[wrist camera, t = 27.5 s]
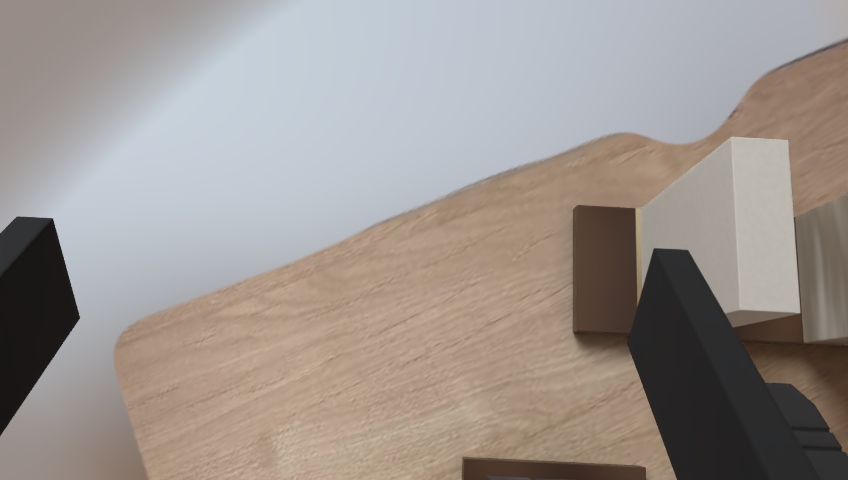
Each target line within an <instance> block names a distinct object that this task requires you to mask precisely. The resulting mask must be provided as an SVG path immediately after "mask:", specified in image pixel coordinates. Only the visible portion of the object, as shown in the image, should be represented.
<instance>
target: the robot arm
mask: <svg viewBox="0 0 848 480" xmlns="http://www.w3.org/2000/svg"><path fill="white" fill-rule="evenodd" d="M79 319H80V316H79V312H78V309H77V305H76V302H75V298H74V294H73V290H72V287H71V283H70V280H69V276H68V272H67V269H66V265H65V261H64V257H63V254H62V250H61V246H60V243H59V239H58V236H57V232H56V228H55V225H54V221H53V219H52V218H36V217H16V218H15V219H14V220H13V221H12V222H11V223H10V224H9V225H8V226H7V227H6V228H5V229H4V230H3V231H2V232H1V233H0V435H1V434H2V432H3V431H4V429H5V428H6V427H7V425H8V424H9V422H10V421H11V419H12V418H13V416H14V415H15V413H16V412H17V410H18V409H19V407H20V406H21V404H22V403H23V402H24V400H25V399H26V397H27V396H28V394H29V393H30V391H31V390H32V388H33V387H34V385H35V384H36V382H37V381H38V379H39V378H40V376H41V375H42V373H43V372H44V370H45V369H46V368H47V366H48V364H49V363H50V361H51V360H52V358H53V357H54V356H55V354H56V353H57V351H58V350H59V348H60V347H61V345H62V344H63V342H64V341H65V339H66V338H67V336H68V335H69V333H70V332H71V331H72V329H73V328H74V326H75V325H76V323H77V322H78V320H79ZM627 344H628V347H629V349H630V352H631V355H632V358H633V360H634V363H635V366H636V368H637V371H638V374H639V377H640V379H641V382H642V385H643V388H644V390H645V393H646V396H647V399H648V401H649V404H650V407H651V409H652V412H653V415H654V418H655V420H656V423H657V426H658V429H659V431H660V434H661V437H662V440H663V442H664V445H665V448H666V450H667V453H668V456H669V459H670V461H671V464H672V467H673V470H674V472H675V475H676V478H677V480H848V456H847V455H846V453H845V452H842V450H841V448H842V447H841V445H840V444H839V442H838V441H837V439H836V438H835V436H834V434H833V433H830V432H829V429H830V428H829V427H828V425H827V423H826V422H825V420H824V419H823V417H822V416H821V414H820V412H819V411H818V409H817V408H816V406H815V405H814V404H813V403H812V402H811V401H810V400H808V399H807V398H806V397H805V396H804V395H803V394H802V393H800V392H799V391H798V390H797V389H796V388H795V387H794V386H792V385H791V384H781V383H765V382H764V380H763V379H762V377H761V375H760V373H759V372H758V370H757V368H756V366H755V365H754V363H753V361H752V360H751V358H750V356H749V354H748V353H747V351H746V349H745V347H744V346H743V344H742V342H741V341H740V339H739V337H738V335H737V334H736V332H735V330H734V328H733V327H732V325H731V323H730V321H729V320H728V318H727V316H726V315H725V313H724V311H723V309H722V308H721V306H720V304H719V302H718V301H717V299H716V297H715V296H714V294H713V292H712V290H711V289H710V287H709V285H708V283H707V282H706V280H705V278H704V276H703V275H702V273H701V271H700V270H699V268H698V266H697V264H696V263H695V261H694V259H693V257H692V256H691V254H690V252H689V251H688V250H683V249H663V248H654V249H653V252H652V256H651V260H650V263H649V267H648V270H647V274H646V278H645V281H644V285H643V288H642V292H641V296H640V299H639V303H638V306H637V310H636V314H635V317H634V321H633V324H632V328H631V331H630V335H629V339H628V342H627Z"/></svg>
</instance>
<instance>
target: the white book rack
mask: <svg viewBox="0 0 848 480" xmlns="http://www.w3.org/2000/svg"><path fill="white" fill-rule="evenodd" d="M640 209H641V208H620V207H603V206H585V205H577V206H576V207H575V208H574V209H573V332H574V333H590V334H609V335H628V336H629V335H630V331H631V328H632V324H633V321H634V317H635V314H636V310H637V306H638V303H639V299H640V296H641V292H642V269H641V219H640ZM794 229H795V243H796V257H797V271H798V285H799V299H800V314H796V315H791V316H786V317H781V318H776V319H772V320H767V321H762V322H757V323H752V324H747V325H743V326H738V327H733V328H734V330H735V332H736V334H737V335H738V337H739V339H740V341H741V342H758V343H777V344H796V345H814V346H833V347H848V193H847V194H845V195H843V196H841V197H839V198H836V199H834V200H832V201H830V202H828V203H825V204H823V205H821V206H819V207H817V208H814V209H812V210H810V211H808V212H806V213H803V214H801V215H799V216H797V217H794Z"/></svg>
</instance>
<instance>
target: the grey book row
mask: <svg viewBox="0 0 848 480" xmlns="http://www.w3.org/2000/svg"><path fill="white" fill-rule="evenodd" d="M462 480H646V468H645V467H642V466H635V465H615V464H595V463H575V462H555V461H535V460H515V459H495V458H475V457H463V461H462Z"/></svg>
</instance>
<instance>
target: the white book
mask: <svg viewBox="0 0 848 480" xmlns="http://www.w3.org/2000/svg"><path fill="white" fill-rule="evenodd" d="M640 219H641V269H642V288H643V285H644V281H645V278H646V274H647V270H648V267H649V263H650V260H651V256H652V252H653V249H654V248H663V249H683V250H688V251H689V252H690V254H691V256H692V257H693V259H694V261H695V263H696V264H697V266H698V268H699V270H700V271H701V273H702V275H703V276H704V278H705V280H706V282H707V283H708V285H709V287H710V289H711V290H712V292H713V294H714V296H715V297H716V299H717V301H718V302H719V304H720V306H721V308H722V309H723V311H724V313H725V315H726V316H727V318H728V320H729V321H730V323H731V325H732V327H738V326H743V325H747V324H752V323H757V322H762V321H767V320H772V319H776V318H781V317H786V316H791V315H796V314H800V299H799V285H798V271H797V257H796V243H795V229H794V215H793V201H792V187H791V173H790V159H789V145H788V140H775V139H758V138H741V137H731V138H729V139H728V140H727V141H726V142H724V143H723V144H722V145H721V146H719V147H718V148H717V149H715V150H714V151H713V152H712V153H710V154H709V155H708V156H707V157H705V158H704V159H703V160H701V161H700V162H699V163H698V164H696V165H695V166H694V167H693V168H691V169H690V170H689V171H688V172H686V173H685V174H684V175H682V176H681V177H680V178H679V179H677V180H676V181H675V182H674V183H672V184H671V185H670V186H669V187H667V188H666V189H665V190H663V191H662V192H661V193H660V194H658V195H657V196H656V197H655V198H653V199H652V200H651V201H649V202H648V203H647V204H646V205H644V206H643V207H642V208H641V209H640Z"/></svg>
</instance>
